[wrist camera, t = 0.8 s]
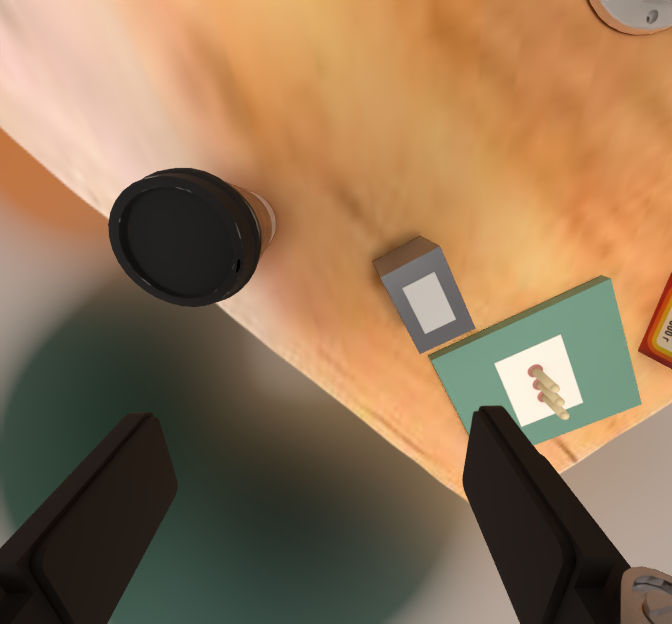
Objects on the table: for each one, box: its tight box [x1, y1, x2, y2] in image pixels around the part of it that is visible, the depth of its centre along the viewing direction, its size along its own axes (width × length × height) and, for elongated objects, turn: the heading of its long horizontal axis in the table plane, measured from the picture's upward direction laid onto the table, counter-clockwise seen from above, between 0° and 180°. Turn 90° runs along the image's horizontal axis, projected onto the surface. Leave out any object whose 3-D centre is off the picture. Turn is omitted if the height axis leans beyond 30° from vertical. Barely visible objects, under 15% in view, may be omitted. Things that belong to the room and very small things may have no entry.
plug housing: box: [373, 236, 475, 354], centre depth 31 cm, size 6×8×7 cm, turn 29°
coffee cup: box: [108, 168, 276, 307], centre depth 24 cm, size 8×8×15 cm
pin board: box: [428, 276, 641, 445], centre depth 35 cm, size 20×18×5 cm
